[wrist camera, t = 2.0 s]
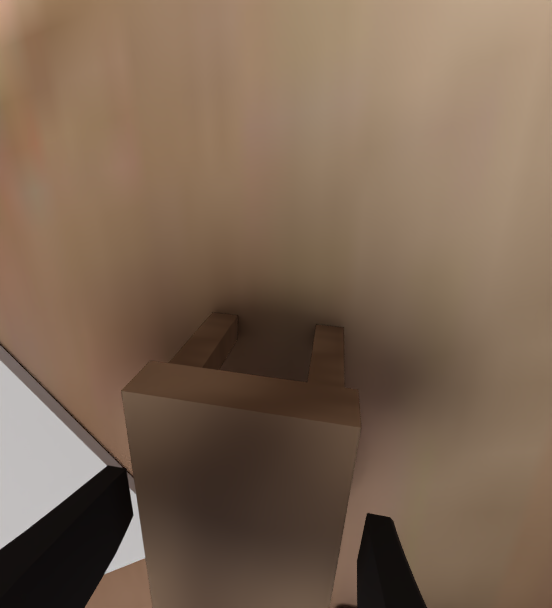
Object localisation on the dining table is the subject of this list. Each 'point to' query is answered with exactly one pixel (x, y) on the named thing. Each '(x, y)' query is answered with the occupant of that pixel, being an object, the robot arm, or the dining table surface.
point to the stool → (241, 474)
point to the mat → (47, 459)
